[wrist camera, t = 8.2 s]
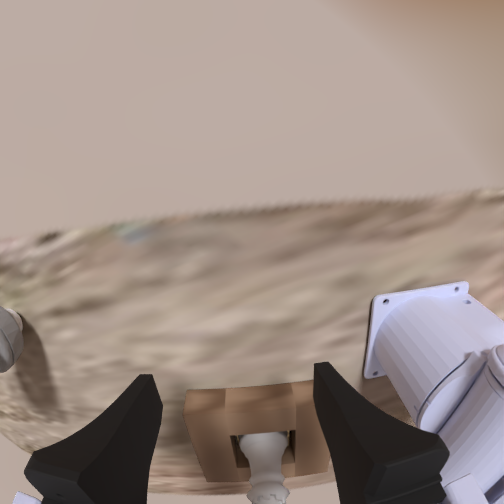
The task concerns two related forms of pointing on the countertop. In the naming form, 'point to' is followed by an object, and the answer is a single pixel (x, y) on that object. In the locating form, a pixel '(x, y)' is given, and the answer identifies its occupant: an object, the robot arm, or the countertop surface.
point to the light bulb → (10, 338)
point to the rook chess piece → (265, 466)
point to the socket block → (254, 428)
